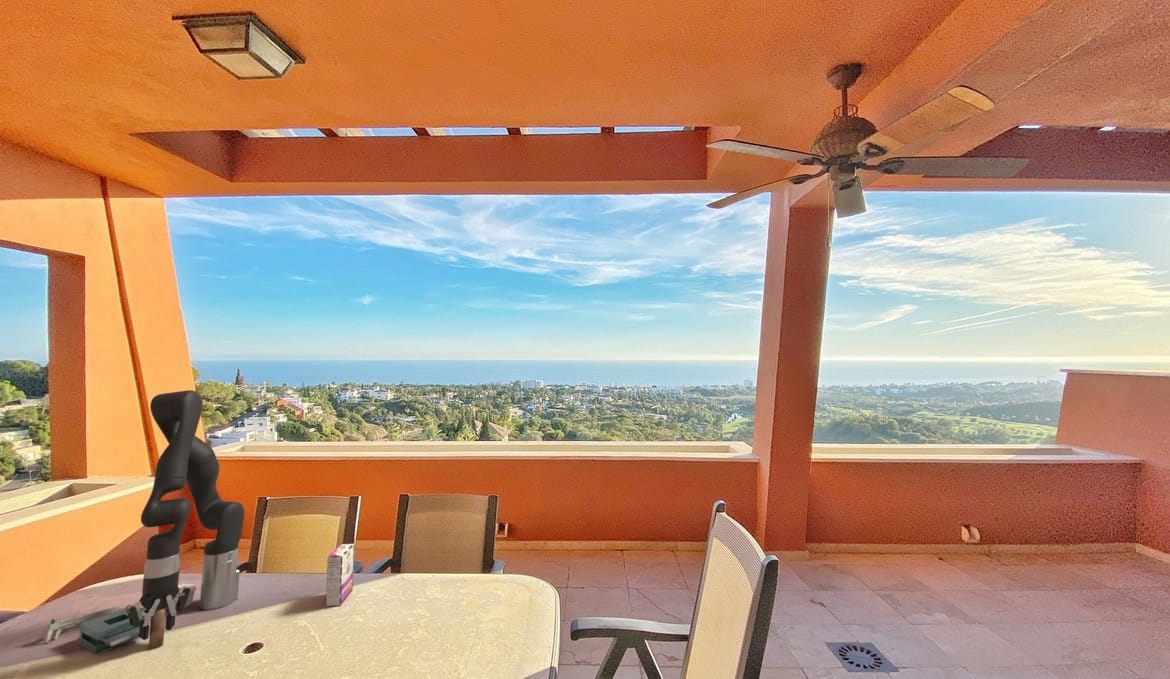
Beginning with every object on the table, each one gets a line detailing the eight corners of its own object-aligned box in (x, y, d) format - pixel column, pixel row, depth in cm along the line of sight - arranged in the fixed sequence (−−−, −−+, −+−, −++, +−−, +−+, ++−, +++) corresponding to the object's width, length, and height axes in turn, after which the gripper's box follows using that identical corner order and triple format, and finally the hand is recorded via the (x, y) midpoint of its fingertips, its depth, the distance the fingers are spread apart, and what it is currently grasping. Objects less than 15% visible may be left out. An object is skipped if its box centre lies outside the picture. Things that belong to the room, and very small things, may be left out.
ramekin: (172, 599, 154) (173, 583, 155) (204, 599, 154) (205, 583, 154) (139, 616, 143) (140, 599, 144) (173, 617, 143) (174, 599, 143)
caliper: (46, 645, 128) (49, 621, 128) (43, 645, 128) (45, 621, 128) (122, 608, 148) (123, 588, 149) (118, 608, 148) (120, 588, 149)
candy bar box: (337, 591, 160) (340, 543, 161) (352, 590, 160) (355, 543, 162) (324, 607, 149) (327, 556, 150) (340, 606, 149) (343, 555, 151)
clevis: (130, 624, 138) (131, 606, 138) (154, 637, 131) (156, 617, 132) (78, 643, 128) (80, 623, 129) (102, 658, 121) (104, 636, 122)
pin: (160, 642, 129) (163, 605, 130) (165, 644, 128) (168, 608, 128) (146, 647, 126) (149, 610, 127) (151, 650, 125) (154, 612, 126)
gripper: (186, 560, 137) (181, 619, 135) (122, 578, 124) (116, 644, 122) (198, 564, 133) (194, 624, 132) (134, 584, 121) (128, 651, 119)
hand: (156, 633), depth 127 cm, fingers open, 4 cm apart
